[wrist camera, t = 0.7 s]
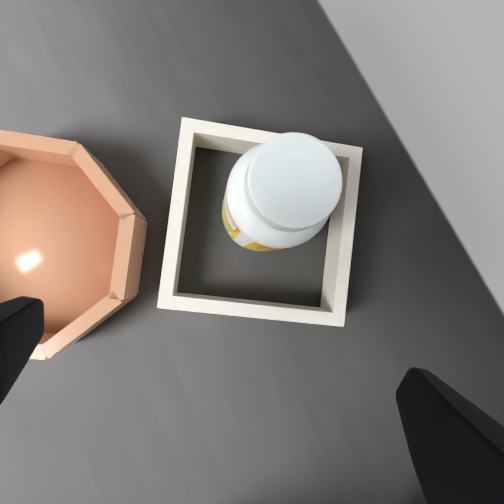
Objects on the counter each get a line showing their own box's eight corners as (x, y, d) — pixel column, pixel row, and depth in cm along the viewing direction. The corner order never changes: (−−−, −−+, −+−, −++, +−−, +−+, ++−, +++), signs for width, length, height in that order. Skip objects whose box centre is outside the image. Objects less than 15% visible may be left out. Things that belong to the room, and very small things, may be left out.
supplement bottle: (206, 219, 22) (200, 186, 13) (254, 160, 23) (283, 86, 13) (267, 268, 23) (306, 272, 13) (312, 209, 23) (383, 171, 14)
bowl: (130, 348, 21) (114, 365, 18) (-71, 331, 20) (-131, 345, 16) (154, 169, 22) (143, 151, 18) (-39, 140, 20) (-91, 115, 17)
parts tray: (329, 319, 23) (343, 326, 20) (163, 302, 22) (156, 307, 19) (346, 159, 23) (362, 147, 21) (185, 133, 22) (182, 117, 20)
